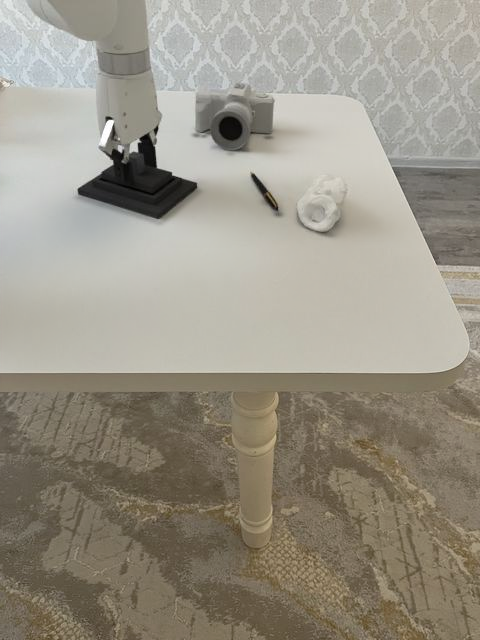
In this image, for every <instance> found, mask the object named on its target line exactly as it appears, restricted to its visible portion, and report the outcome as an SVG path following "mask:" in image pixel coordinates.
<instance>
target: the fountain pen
mask: <svg viewBox="0 0 480 640" xmlns="http://www.w3.org/2000/svg"><path fill="white" fill-rule="evenodd" d="M249 174H250V177H251V178H252V180H253V182H254V184H255V185H256V186H257V188H258V189H259V191H260V193H261V194H262V195H263V197H264V199H265V200H266V201H267V204H268V205H270V206H271V208H272V209H273V210H274V211H279V210H280V209H279V204H278V203H277V201H276V199H275V198H274V196H273V195H272V193H271V192H270V191H269V190H268V188H267V187H266V186H265V184H264V183H262V181H261V180H260V179H259V177H258V176H257V175H256V174H255V173H254V172H252V171H250V172H249Z"/></svg>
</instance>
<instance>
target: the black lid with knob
mask: <svg viewBox="0 0 480 640" xmlns="http://www.w3.org/2000/svg"><path fill="white" fill-rule="evenodd" d="M128 161H130V162H131V163H132V171H133V180H134V181H133V182H134V184H133V185H132V186H129V185H125V184H122V183H119V184H122V185H125V186H129V187H132V188H136V189H139V190H142V191H146V192H149V193H154V192H155V191H157V190H158V189H159V188H161V187H162V186H163V185H165V184H166V183H167V182H169V181H170V180H171V179H172V175H173V172H172V171H169V170H165V169H163V168H158V167H157V168H155V167H151V166H148V165H145V164H144V154H142V153H138V151H132V152H129V159H128ZM100 174H102V179H105V180H108V181H112V182H115V183H118V182H117V181H116V179H115V172H114V165H113V164H112V165H110V166H108V167H107V168H105V169H104V170H102V171H101V172H100Z"/></svg>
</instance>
